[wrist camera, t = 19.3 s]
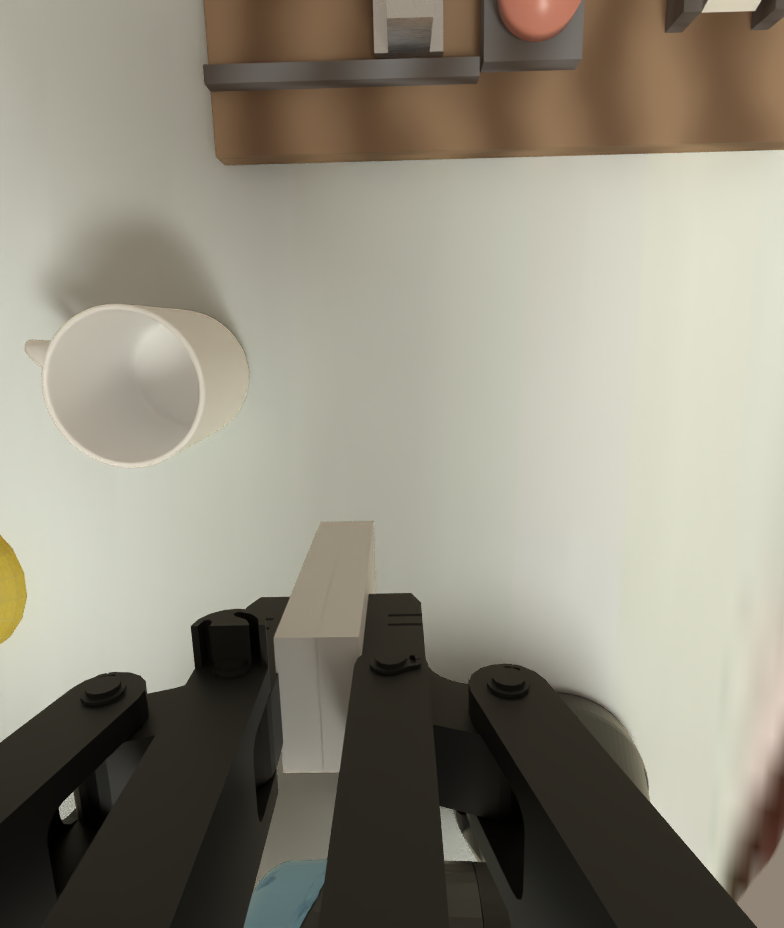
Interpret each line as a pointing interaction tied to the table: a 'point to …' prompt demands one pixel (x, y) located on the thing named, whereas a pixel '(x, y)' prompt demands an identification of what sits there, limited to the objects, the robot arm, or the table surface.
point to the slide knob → (408, 29)
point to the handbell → (10, 591)
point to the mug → (140, 381)
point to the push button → (536, 17)
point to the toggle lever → (729, 5)
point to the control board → (492, 83)
